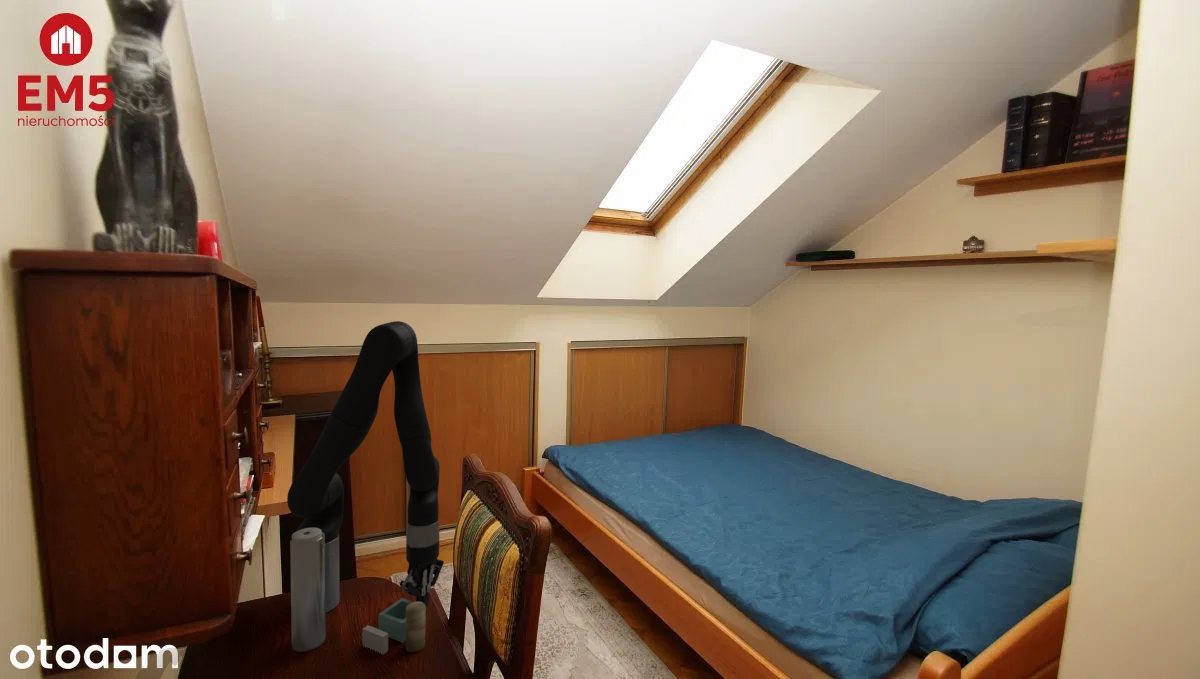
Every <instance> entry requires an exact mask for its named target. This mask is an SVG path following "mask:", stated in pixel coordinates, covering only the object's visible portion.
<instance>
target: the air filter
mask: <svg viewBox="0 0 1200 679" xmlns="http://www.w3.org/2000/svg"><path fill="white" fill-rule="evenodd" d="M289 543H290V545H289V546H290V548H289V549H290V607H291V608H290V610H291V611H290V618H291V619H290V620H291V621H290V622H291V624H290V625H291V628H290V629H291V648H292V650H293V651H296V652H301V653H303V652H308V651H312V650H315V649H316V648H318V647H320V646H321V645H323V643H324V642H325V641H324V640H326V613H325V534H324V532H322V531H321V529H319V528H305V529H301V530H298V531H297V530H296V531H295V532H293V533H292V534H291V540H290V541H289Z"/></svg>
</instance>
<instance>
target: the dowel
mask: <svg viewBox="0 0 1200 679" xmlns="http://www.w3.org/2000/svg"><path fill="white" fill-rule="evenodd" d="M425 647H426V625H425V604H424V603H423V602H416V601H413V603H410V604H409V605H407V607H406V640H405V649H406V651H407V652H410V653H416V652H420V651H422V650H423V649H424V648H425Z"/></svg>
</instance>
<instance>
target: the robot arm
mask: <svg viewBox="0 0 1200 679" xmlns="http://www.w3.org/2000/svg"><path fill="white" fill-rule="evenodd" d="M418 347H419V346H418V338H417V334H416V332H415V330H414V329H413V327H411V325H410V324H408V323H407V322H404V321H399V320H398V321H397V320H396V321H390V322H386V323H382V324H379V325H376V326H374V327H373V328H371V329H370V330H369V332H367V334H366V336H365V338H364V340H363V342H362V345H361V348H360V350H359V354H358V356H357V359H356V362H355V365H354V367H353V370H352V372H351V375H350V376H349V379H348V380H347V382H346V384H345V386H344V387H343V389H342V391H341V393H340V396H339V397H338V399H337V401H336V402H335V404H334V406H333V408H332V410H331V412H330V414H329V416H328V418H327V421H326V422H325V425H324V428H323V429H322V431H321V433H320V435H319V437H318V439H317V441H316V443H315V444H314V447H313V449H312V451H311V453H310V455H309V457H308V458H307V460H306V461H305V463H304V465H303V467H302V468H301V470H300V471H299V473H298V474H297V476H296V477H295V479H294V480H293V482H292V483H291V485H290V487H289V489H288V492H287V497H286V498H287V499H286V500H287V501H286V502H287V503H286V504H287V506H288V510H289V511H290V513H291V515H294V516H295V517H297V518H303V519H304V520H303V521H302V522H301V523H300V525H298V527H297V529H296V531H298V530H301V529H305V528H319V529H321V531H322V532H324V534H325V614H326V613H328V612H331V611H332V610H333V609H335V608H336V607H337V606H338V605H339V602H340V528H341V527H342V526H341V525H342V524H343V518H344V502H345V499H344V498H345V490H344V489H345V488H344V484H343V479H342V478H341V477H340V475H339V474H338V471H339V469H340V468H341V467H342V466H343V465H344V463H345V462H347V461H348V459H349V458H350V457H351V456H352V455H353V454H354V453H355V452H356V450H357V449H358V448H359V447H360V446H361V445H362V443H363V442H364V441H365V439H366V437H367V436H368V433H369V432H370V430H371V428H372V426H373V425H374V422H375V420H376V418H377V414H378V412H379V411H378V410H379V404H380V396H381V390H382V388H383V386H384V385H385V382H386V380H387V379H388V377H389V375H390V374H391V372H392V375H393V381H394V403H393V417H394V424H395V427H396V432H397V436H398V439H399V443H400V447H401V450H402V459H403V460H402V461H403V468H404V474H405V478H406V481H407V484H408V485H409V498H408V503H407V521H406V522H407V524H406V532H405V536H406V538H405V542H406V543H405V559H406V562H407V564H408V567H407V572H406V573H407V576H406V577H405V579H404V580H403V579H402V580H401V581H400V582H399V587H401V588H402V589H403V590H404V592H406V593H407V594H408V595H410V596H412V597H415V602H423V603H424V604H425V606H426V608H428V606H429V602H430V600H429V599H430V595H429V594H430V591H431V588H432V587H435V585H436V584H437V583H436V582H437V580H438V578H439V576H440V573H441V570H442V568H443V566H444V563H445V562H444V560H441V559H439V555H440V522H439V514H440V512H439V509H440V508H439V484H440V470H441V468H440V463H439V460H438V458H437V457H436V456H434V452H433V448H432V433H431V429H430V424H429V420H428V416H427V412H426V408H425V402H424V397H423V389H422V382H421V375H420V373H421V372H420V365H419V348H418Z"/></svg>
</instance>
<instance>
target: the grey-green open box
mask: <svg viewBox="0 0 1200 679" xmlns="http://www.w3.org/2000/svg"><path fill="white" fill-rule="evenodd" d="M413 602H414V601H413V600H409V599H406V598H403V597H401V598H400V599H399V600H398V601H396V602H394V603H393V604H391V605H390V606H388V607H387V608H385V609H384V610H383V611H381V612H380V613H378V614H377V615H378V617H377V618H378V627H377V629H379V630H382V631H384V632H387V633H388V639H392V640H395V641H397V642H399V643H403V644H404V642H406V607H407V605H409V604H410V603H413ZM426 609H427V607H426V606H425V626H426V624H427V623H426V622H427V621H426V620H427V619H426V618H427V611H426Z"/></svg>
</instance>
